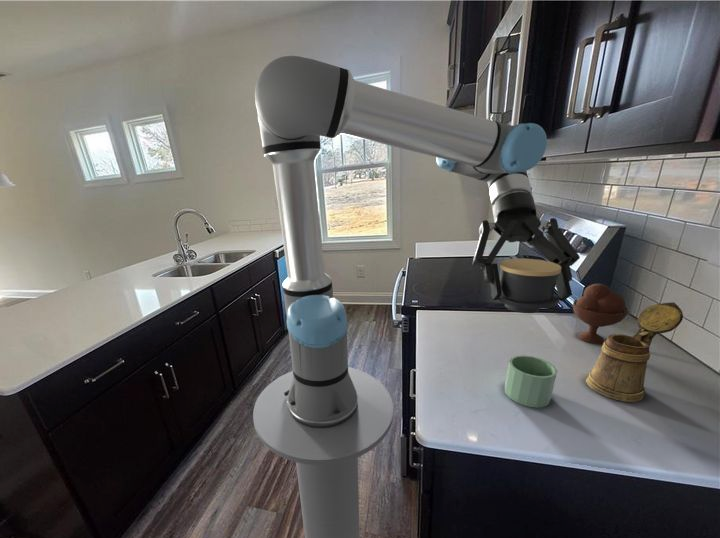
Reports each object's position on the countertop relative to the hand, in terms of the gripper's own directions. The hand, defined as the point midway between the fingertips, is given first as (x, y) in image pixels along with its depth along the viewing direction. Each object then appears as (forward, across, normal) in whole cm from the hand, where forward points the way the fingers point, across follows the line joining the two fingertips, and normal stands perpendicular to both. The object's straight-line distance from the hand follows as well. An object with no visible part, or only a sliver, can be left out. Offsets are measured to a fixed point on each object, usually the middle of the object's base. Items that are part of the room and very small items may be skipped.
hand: (530, 297), depth 58 cm
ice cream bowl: (-3, -29, -34) cm, 45 cm away
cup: (+15, -3, -16) cm, 22 cm away
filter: (0, 0, -4) cm, 4 cm away
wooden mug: (+12, -23, -19) cm, 32 cm away
